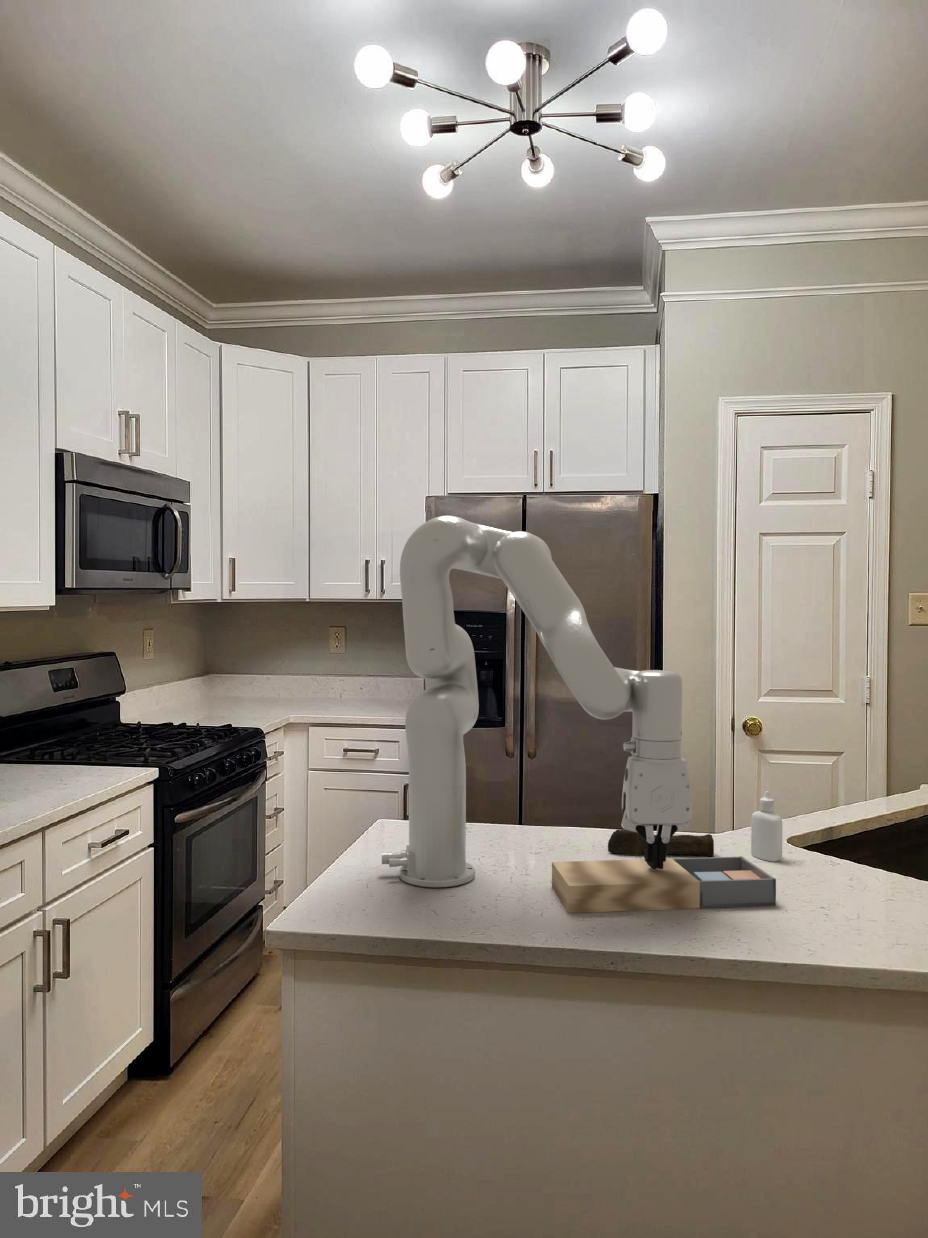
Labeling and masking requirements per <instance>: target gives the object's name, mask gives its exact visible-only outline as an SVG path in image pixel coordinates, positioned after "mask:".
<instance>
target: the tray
mask: <svg viewBox="0 0 928 1238" xmlns="http://www.w3.org/2000/svg"><path fill="white" fill-rule="evenodd" d="M672 859H673V860H674V861H675V862H677V863H678V864H679V865H680V866H681V867H683V868H684V869H685V870H686V871H687V872H689V873H690V874H691V875H692V876H693V877H694V872H722V873H723V871H745V870H750V871H752V872H753V873H754V874H756V875H757V876H759V877H760V878H761V879H737V880H706V881H699V882H700V908H699V909H715V908H716V909H717V908H718V909H721V908H741V907H742V908H745V907H746V908H747V907H774V906H776V904H777V903H776V902H777V879H776V878H775V877H774V876H772V875H770V874H769V873H767V872H766V871H764V870H763V869H761V868H760V867H758V866H757V865H755V864H754V863H752V862H751V861H749V860H748V859H746V858H745V857H743V856H720V857H719V856H718V857H717V856H713V857H710V856H708V857H683V858H681V857H680V858H679V857H677V858H672Z"/></svg>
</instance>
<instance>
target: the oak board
mask: <svg viewBox="0 0 928 1238" xmlns="http://www.w3.org/2000/svg"><path fill="white" fill-rule="evenodd" d="M551 888H552V889H553V891H554V892H555V894H556V895H557V896H558V899H559V900H560V902H561V903H562V905H563V906H564V908H565V909H566V911H567V912H568V913H570V914H575V913H580V914H581V913H602V912H603V913H605V912H606V913H607V912H608V913H609V912H629V911H630V912H631V911H637V912H638V911H657V910H658V911H659V910H661V911H662V910H688V909H690V910H691V909H701V908H700V882H699V881H698V880H697V879H696V878H695V877H693V876H692V875H691V874H690V873H689V872H687V871H686V870H685V869H684V868H683V867H681V866H680V865H679V864H678V863H677V862H675V861H674V860H673V858H666V861H665V862H663V869H659V868H656V869H652V868H651V867H650V866H649V865H648V864H647V862H646V861H645V859H642V858H641V859H612V860H611V859H609V860H584V861H583V860H579V861H578V860H575V861H572V860H571V861H551Z"/></svg>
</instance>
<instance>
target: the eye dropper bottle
mask: <svg viewBox="0 0 928 1238" xmlns="http://www.w3.org/2000/svg"><path fill="white" fill-rule="evenodd" d="M774 811H775V799H773V798H772V797H771V795H770V791H768V790H767V791H764V794H763V797H760V798H759V810H758V811H754V812H753V813H752V814H751V822H750V824H751V825H750V828H751V829H750V830H751V833H750V842H751V843H750V855H751V856H753V857H754V858H756V859H758V860H759V859H760V860H762V861H767V862H771V863H774V862H775V863H776V862H779V861H782V860H783V819H782V818H781V816H779V815H778V814H777V813H776V812H774Z"/></svg>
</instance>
